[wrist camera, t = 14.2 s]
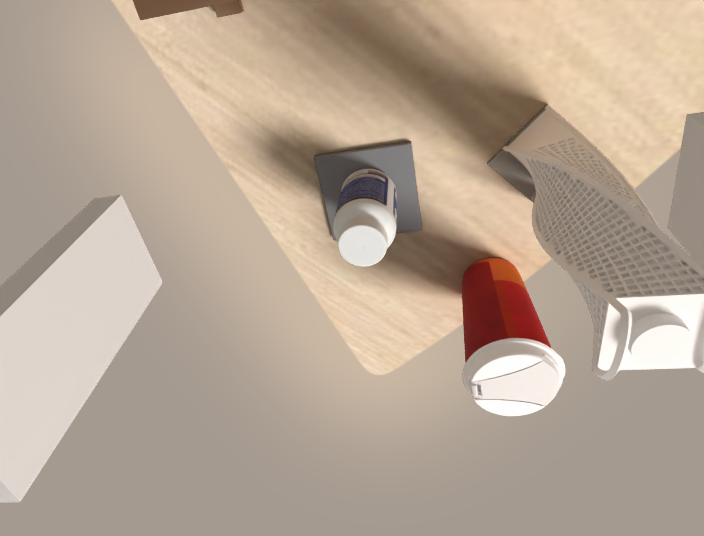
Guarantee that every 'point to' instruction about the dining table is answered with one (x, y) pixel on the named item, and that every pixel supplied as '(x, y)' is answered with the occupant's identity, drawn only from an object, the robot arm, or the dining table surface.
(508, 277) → the coffee cup
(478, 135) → the dining table surface
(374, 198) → the pill bottle
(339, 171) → the coaster
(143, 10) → the screen
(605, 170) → the skyscraper
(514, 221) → the dining table surface
